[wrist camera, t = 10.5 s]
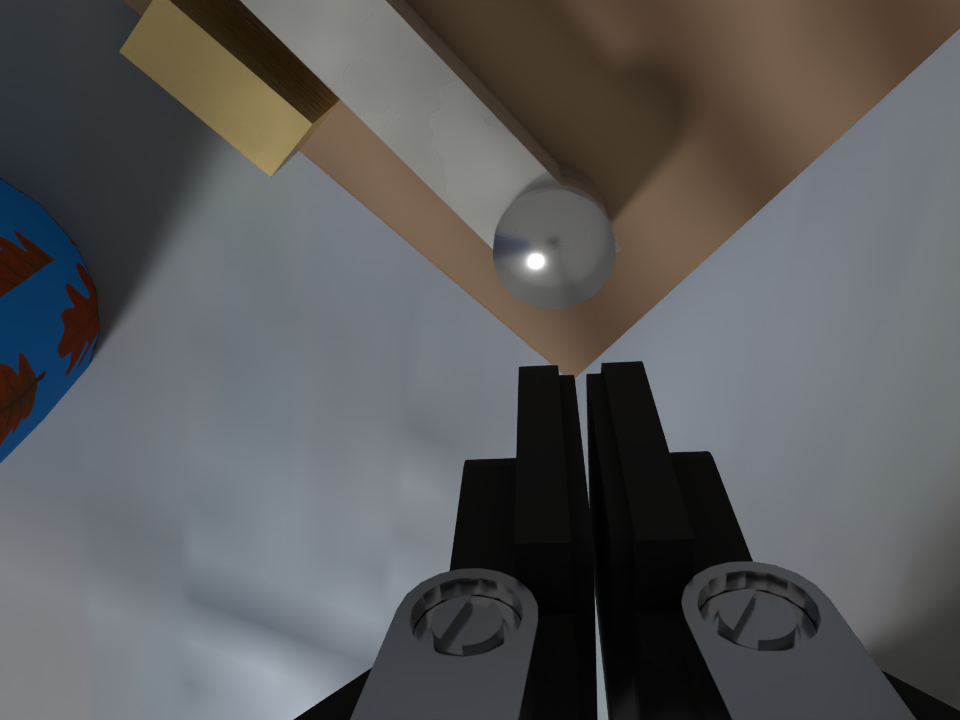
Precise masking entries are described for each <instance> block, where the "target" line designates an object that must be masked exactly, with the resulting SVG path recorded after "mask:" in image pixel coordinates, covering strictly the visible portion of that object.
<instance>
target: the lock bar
mask: <svg viewBox="0 0 960 720" xmlns="http://www.w3.org/2000/svg"><path fill="white" fill-rule="evenodd" d="M240 1H241V2H242V3H243V4H244V5H245V6H246V7H247V8H248V9H249V10H250V11H251V12H252V13H253V14H254V15H255V16H256V17H257V18H258V19H259V20H260V21H261V22H262V23H263V24H264V25H266V26H267V27H268V28H269V29H270V30H271V31H272V32H273V33H274V34H275V35H276V36H277V37H278V38H279V39H280V40H281V41H282V42H283V43H284V44H285V45H286V46H287V47H288V48H289V49H290V50H291V51H292V52H293V53H294V54H295V55H296V56H297V57H298V58H299V59H300V60H301V61H302V62H303V63H304V64H305V65H306V66H307V67H308V68H309V69H310V70H311V71H312V72H313V73H314V74H315V75H316V76H317V77H318V78H319V79H320V80H321V81H322V82H323V83H324V84H325V85H326V86H327V87H328V88H329V89H330V90H331V91H332V92H333V93H334V94H336V95H337V96H338V97H339V98H340V99H341V100H342V101H343V102H344V103H345V104H346V105H347V106H348V107H349V108H350V109H351V110H352V111H353V112H354V113H355V114H356V115H357V116H358V117H359V118H360V119H361V120H362V121H363V122H364V123H365V124H366V125H367V126H368V127H369V128H370V129H371V130H372V131H373V132H374V133H375V134H376V135H377V136H378V137H379V138H380V139H381V140H382V141H383V142H384V143H385V144H386V145H387V146H388V147H389V148H390V149H391V150H392V151H393V152H394V153H395V154H396V155H397V156H398V157H399V158H400V159H401V160H402V161H403V162H404V163H406V164H407V165H408V166H409V167H410V168H411V169H412V170H413V171H414V172H415V173H416V174H417V175H418V176H419V177H420V178H421V179H422V180H423V181H424V182H425V183H426V184H427V185H428V186H429V187H430V188H431V189H432V190H433V191H434V192H435V193H436V194H437V195H438V196H439V197H440V198H441V199H442V200H443V201H444V202H445V203H446V204H447V205H448V206H449V207H450V208H451V209H452V210H453V211H454V212H455V213H456V214H457V215H458V216H459V217H460V218H461V219H462V220H463V221H464V222H465V223H466V224H467V225H468V226H469V227H470V228H471V229H472V230H473V231H474V232H476V233H477V234H478V235H479V236H480V237H481V238H482V239H483V240H484V241H485V242H486V243H487V244H488V245H489V246H490V247H491V248H492V249H493V261H494V267H495V270H496V273H497V275H498V277H499V279H500V281H501V282H502V284H503V285H504V287H505V288H506V289H507V290H508V291H509V292H510V293H511V294H512V295H513V296H514V297H515V298H517V299H518V300H520V301H521V302H523V303H525V304H528V305H530V306H533V307H536V308H541V309H548V310H558V309H565V308H569V307H573V306H576V305H578V304H580V303H583V302H584V301H586V300H588V299H589V298H591V297H592V296H593V295H595V294H596V293H597V292H598V291H599V290H600V289H601V288H602V286H603V285H604V284H605V283H606V281H607V279H608V278H609V276H610V274H611V271H612V269H613V266H614V262H615V256H616V253H617V252H619V251H620V250H621V246H620V243H619V240H618V237H617V234H616V231H615V228H614V225H613V222H612V221H611V219H610V218H609V217H608V215H607V212H606V209H605V206H604V203H603V200H602V197H601V195H600V192H599V190H598V189H597V187H596V185H595V184H594V183H593V182H592V180H591V179H590V178H589V177H588V176H586V175H585V174H584V173H582V172H581V171H579V170H578V169H576V168H574V167H571V166H568V165H565V164H560V163H557V162H556V161H555V160H554V159H553V158H552V157H551V156H550V155H549V153H548V152H547V151H546V150H545V149H544V148H543V147H542V146H541V145H540V144H539V143H538V142H537V141H536V140H535V139H534V137H533V136H532V135H531V134H530V133H529V132H528V131H527V130H526V129H525V128H524V127H523V126H522V125H521V124H520V123H519V122H518V120H517V119H516V118H515V117H514V116H513V115H512V114H511V113H510V112H509V111H508V110H507V109H506V108H505V107H504V106H503V104H502V103H501V102H500V101H499V100H498V99H497V98H496V97H495V96H494V95H493V94H492V93H491V92H490V91H489V90H488V89H487V87H486V86H485V85H484V84H483V83H482V82H481V81H480V80H479V79H478V78H477V77H476V76H475V75H474V74H473V73H472V71H471V70H470V69H469V68H468V67H467V66H466V65H465V64H464V63H463V62H462V61H461V60H460V59H459V58H458V57H457V56H456V54H455V53H454V52H453V51H452V50H451V49H450V48H449V47H448V46H447V45H446V44H445V43H444V42H443V41H442V40H441V38H440V37H439V36H438V35H437V34H436V33H435V32H434V31H433V30H432V29H431V28H430V27H429V26H428V25H427V24H426V23H425V21H424V20H423V19H422V18H421V17H420V16H419V15H418V14H417V13H416V12H415V11H414V10H413V9H412V8H411V7H410V6H409V4H408V3H407V2H406V1H405V0H240Z"/></svg>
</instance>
